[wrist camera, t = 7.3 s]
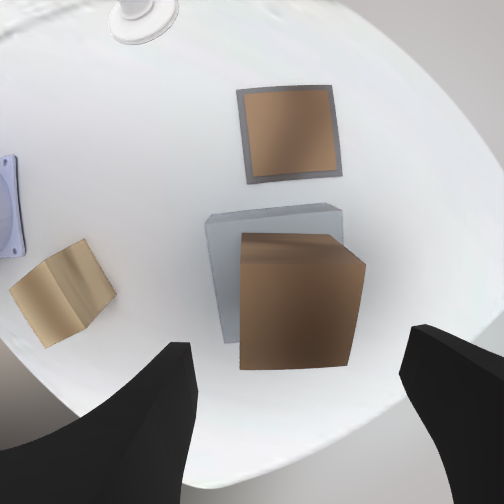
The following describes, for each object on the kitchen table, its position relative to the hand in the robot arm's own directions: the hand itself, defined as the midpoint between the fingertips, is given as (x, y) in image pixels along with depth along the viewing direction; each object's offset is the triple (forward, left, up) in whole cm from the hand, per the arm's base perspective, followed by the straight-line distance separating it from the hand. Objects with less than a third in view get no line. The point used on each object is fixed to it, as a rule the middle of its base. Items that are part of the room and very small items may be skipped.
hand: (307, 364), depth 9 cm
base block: (0, 0, -11) cm, 11 cm away
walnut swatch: (+1, +8, -10) cm, 13 cm away
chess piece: (-8, +17, -11) cm, 22 cm away
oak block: (-14, -1, -10) cm, 18 cm away
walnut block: (0, 0, -7) cm, 7 cm away
